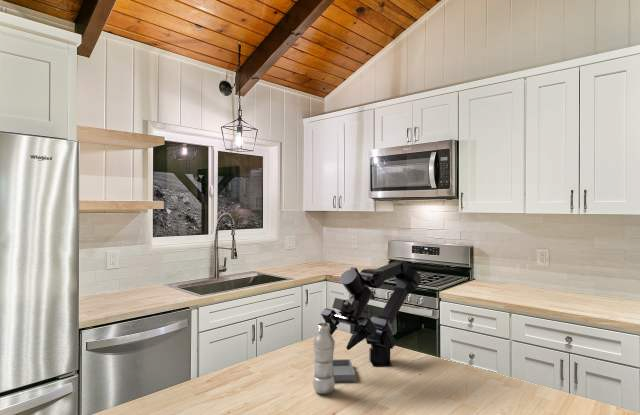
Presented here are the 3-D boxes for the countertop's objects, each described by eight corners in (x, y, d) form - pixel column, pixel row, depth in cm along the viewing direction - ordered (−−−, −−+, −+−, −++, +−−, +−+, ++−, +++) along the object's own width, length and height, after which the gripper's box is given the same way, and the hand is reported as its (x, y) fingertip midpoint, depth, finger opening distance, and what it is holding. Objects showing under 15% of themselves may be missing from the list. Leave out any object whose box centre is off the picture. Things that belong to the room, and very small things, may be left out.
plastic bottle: (337, 387, 123) (337, 322, 123) (331, 398, 117) (331, 329, 116) (316, 385, 125) (316, 320, 125) (310, 395, 119) (310, 327, 118)
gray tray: (350, 365, 140) (350, 359, 139) (355, 381, 127) (355, 374, 127) (314, 366, 139) (314, 360, 139) (316, 382, 127) (316, 375, 127)
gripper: (324, 283, 134) (300, 324, 126) (371, 292, 121) (347, 338, 113) (340, 303, 140) (317, 343, 132) (386, 313, 127) (364, 358, 119)
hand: (335, 345), depth 124 cm, fingers open, 9 cm apart
